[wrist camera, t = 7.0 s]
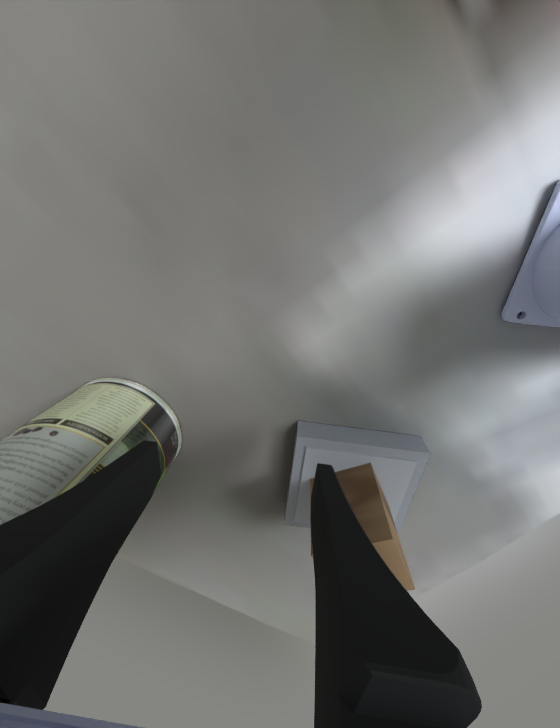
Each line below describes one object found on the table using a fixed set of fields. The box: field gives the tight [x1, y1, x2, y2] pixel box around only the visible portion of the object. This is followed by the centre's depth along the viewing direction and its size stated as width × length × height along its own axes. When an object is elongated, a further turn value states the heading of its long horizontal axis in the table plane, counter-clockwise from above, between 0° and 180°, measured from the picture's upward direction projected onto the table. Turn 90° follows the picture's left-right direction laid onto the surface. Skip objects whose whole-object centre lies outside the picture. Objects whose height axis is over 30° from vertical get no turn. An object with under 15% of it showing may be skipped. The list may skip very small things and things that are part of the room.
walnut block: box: [310, 463, 415, 591], centre depth 20 cm, size 5×5×6 cm
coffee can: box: [0, 377, 182, 562], centre depth 18 cm, size 10×10×14 cm
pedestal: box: [284, 421, 430, 533], centre depth 24 cm, size 10×10×2 cm
